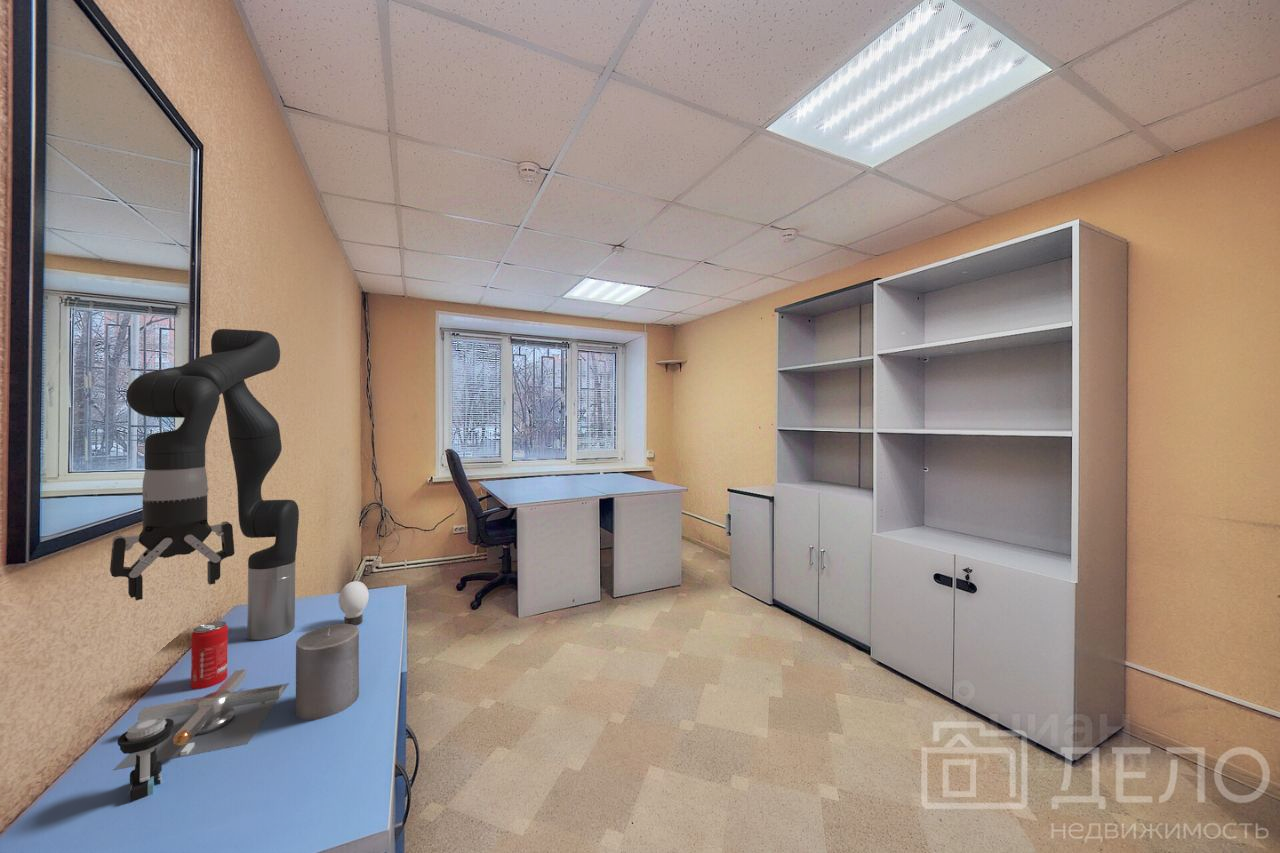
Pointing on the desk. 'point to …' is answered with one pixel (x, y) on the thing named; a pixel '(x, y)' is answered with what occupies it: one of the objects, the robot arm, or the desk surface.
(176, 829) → the desk surface
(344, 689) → the pillar candle
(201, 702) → the capstan
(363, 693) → the desk surface
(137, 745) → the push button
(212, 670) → the beverage can
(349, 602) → the light bulb
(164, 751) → the stand
